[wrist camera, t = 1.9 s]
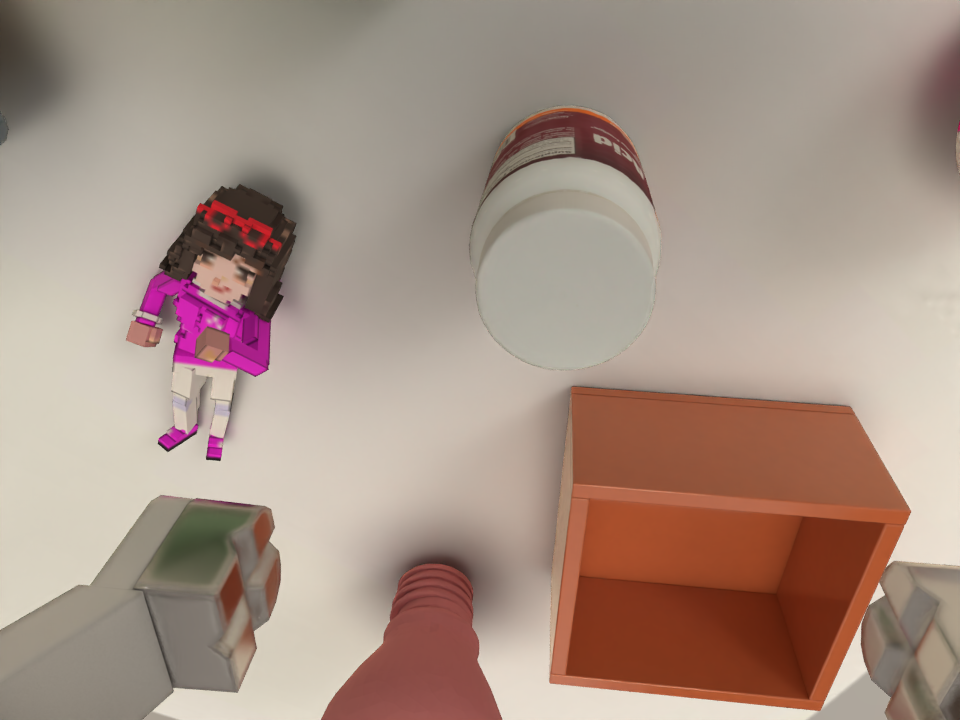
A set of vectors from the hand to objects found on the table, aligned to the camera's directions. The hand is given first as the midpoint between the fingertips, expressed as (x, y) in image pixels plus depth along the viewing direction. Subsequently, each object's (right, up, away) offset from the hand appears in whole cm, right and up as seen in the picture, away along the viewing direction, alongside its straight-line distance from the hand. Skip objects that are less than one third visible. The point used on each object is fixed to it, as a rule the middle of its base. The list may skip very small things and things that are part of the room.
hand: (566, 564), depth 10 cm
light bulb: (-3, -7, +24) cm, 25 cm away
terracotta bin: (+7, -3, +20) cm, 21 cm away
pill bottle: (+2, +9, +14) cm, 16 cm away
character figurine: (-11, +5, +18) cm, 21 cm away
